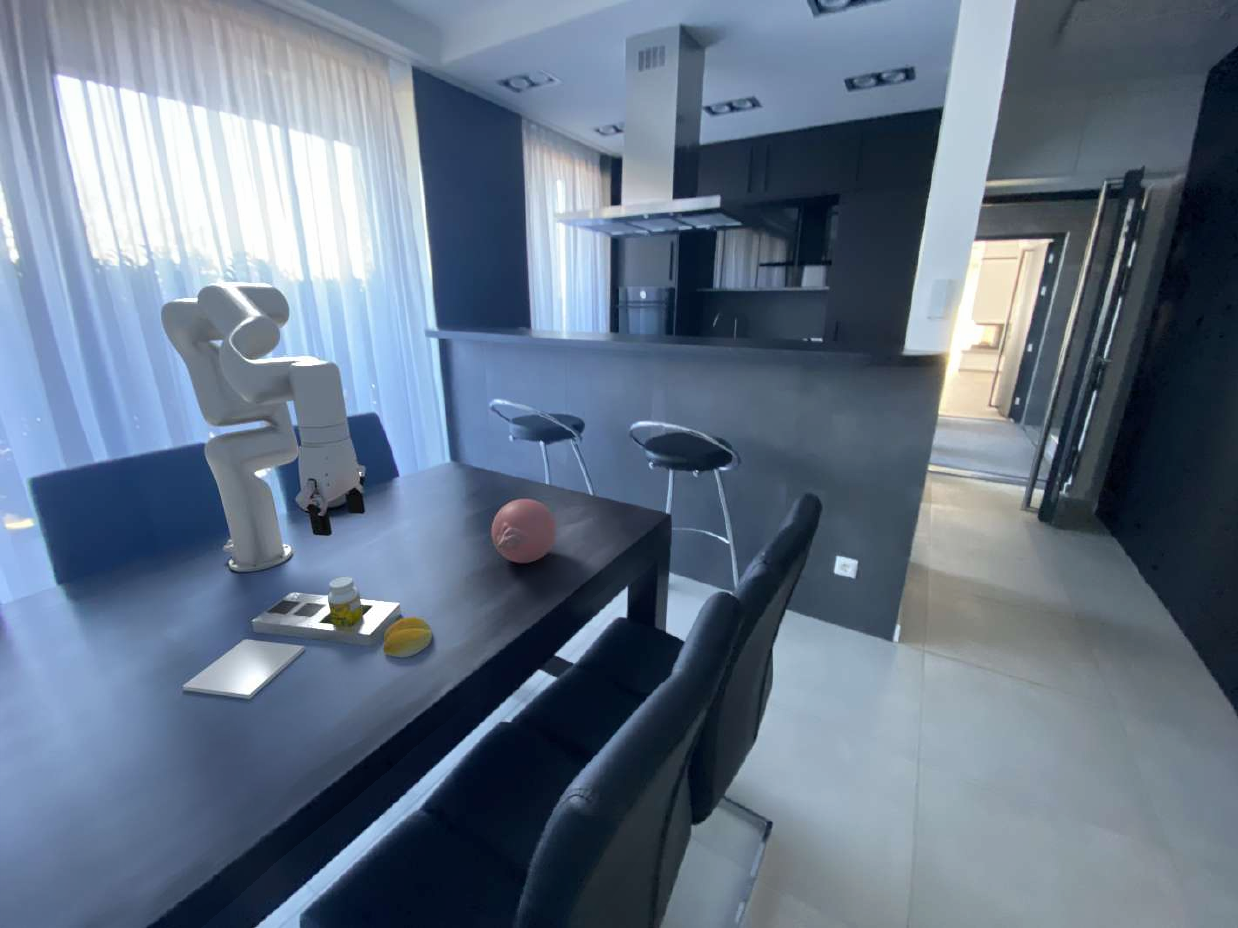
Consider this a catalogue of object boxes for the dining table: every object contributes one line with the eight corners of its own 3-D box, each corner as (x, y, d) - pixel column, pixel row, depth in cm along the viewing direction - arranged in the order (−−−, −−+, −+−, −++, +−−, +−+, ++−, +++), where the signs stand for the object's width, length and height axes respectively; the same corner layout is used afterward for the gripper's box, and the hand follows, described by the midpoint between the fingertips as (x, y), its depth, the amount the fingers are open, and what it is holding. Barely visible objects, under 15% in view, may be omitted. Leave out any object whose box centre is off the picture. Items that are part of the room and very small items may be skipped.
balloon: (469, 577, 116) (463, 515, 111) (514, 540, 134) (511, 486, 129) (528, 590, 111) (525, 526, 107) (567, 550, 129) (566, 494, 125)
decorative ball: (360, 501, 158) (355, 471, 155) (336, 514, 149) (331, 482, 145) (333, 498, 160) (328, 468, 157) (308, 510, 151) (302, 479, 148)
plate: (183, 689, 82) (182, 685, 82) (245, 642, 93) (244, 639, 93) (249, 698, 80) (248, 694, 80) (304, 649, 92) (304, 646, 91)
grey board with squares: (254, 632, 96) (251, 620, 95) (293, 602, 106) (291, 591, 105) (371, 645, 93) (369, 633, 92) (401, 613, 102) (399, 602, 102)
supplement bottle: (370, 619, 100) (363, 577, 97) (349, 636, 96) (341, 591, 93) (348, 614, 102) (341, 572, 99) (326, 630, 97) (318, 586, 94)
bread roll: (382, 664, 89) (379, 645, 87) (386, 634, 97) (383, 616, 95) (432, 654, 91) (430, 635, 90) (432, 625, 99) (430, 607, 98)
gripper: (337, 421, 97) (351, 504, 102) (266, 445, 80) (287, 543, 86) (374, 423, 96) (386, 506, 101) (310, 447, 80) (328, 545, 85)
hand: (340, 523), depth 93 cm, fingers open, 9 cm apart
